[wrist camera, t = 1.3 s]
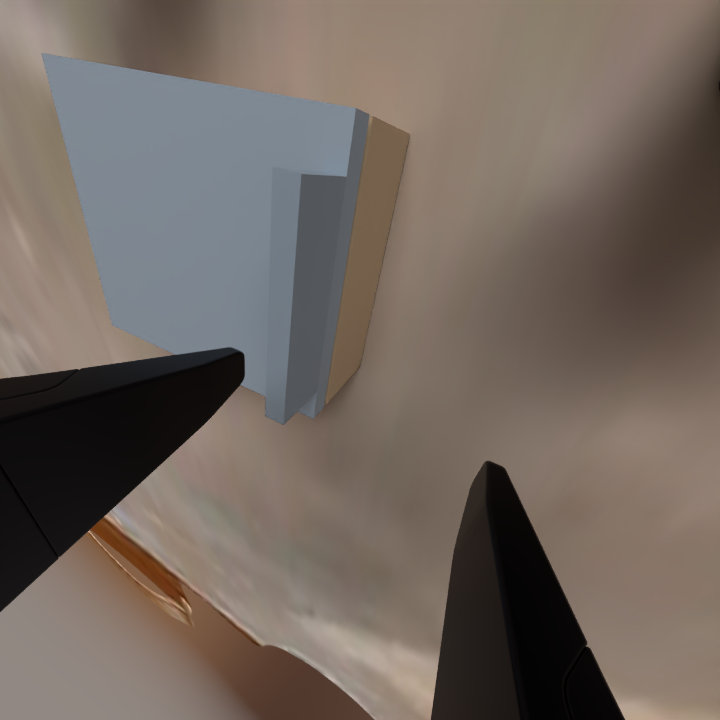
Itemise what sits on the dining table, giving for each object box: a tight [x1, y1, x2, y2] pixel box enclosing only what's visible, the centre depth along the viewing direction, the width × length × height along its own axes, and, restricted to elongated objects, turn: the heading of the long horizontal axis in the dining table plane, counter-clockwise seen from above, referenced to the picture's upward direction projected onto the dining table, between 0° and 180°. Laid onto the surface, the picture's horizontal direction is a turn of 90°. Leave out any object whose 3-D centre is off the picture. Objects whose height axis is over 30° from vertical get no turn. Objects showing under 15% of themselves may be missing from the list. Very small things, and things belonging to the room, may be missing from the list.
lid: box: [42, 53, 370, 425], centre depth 16 cm, size 16×14×4 cm
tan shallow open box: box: [324, 116, 410, 404], centre depth 20 cm, size 16×14×5 cm
